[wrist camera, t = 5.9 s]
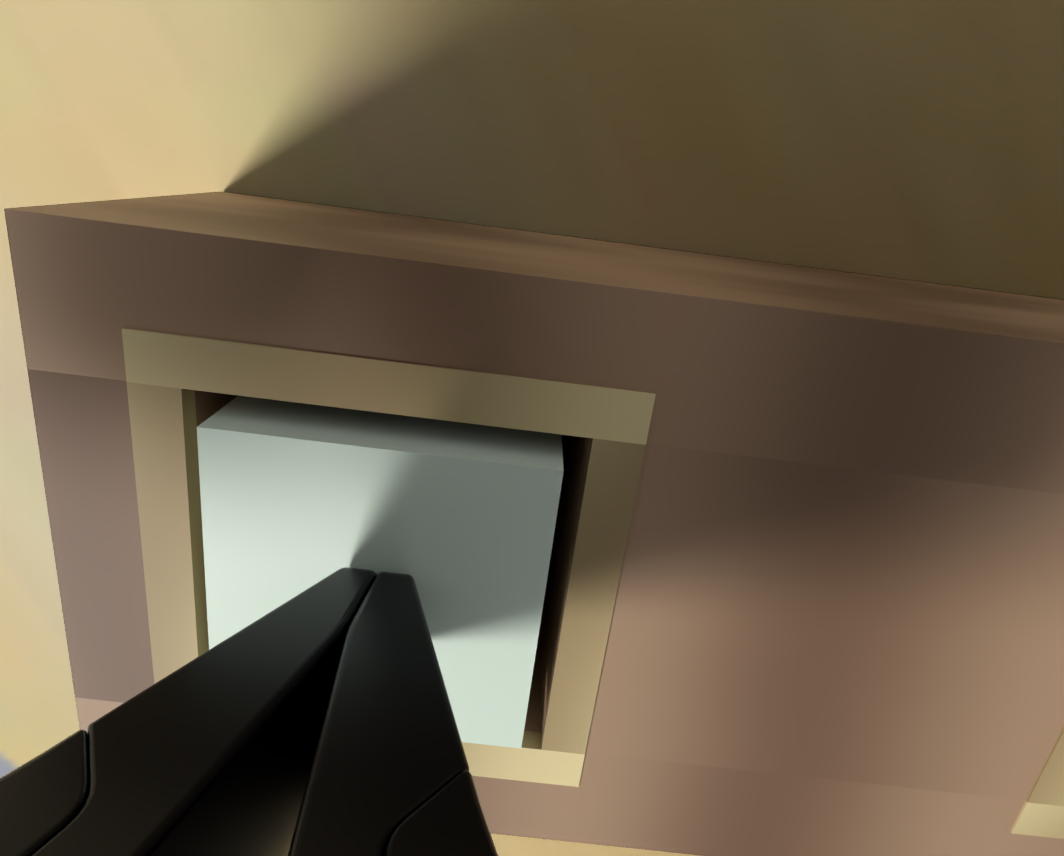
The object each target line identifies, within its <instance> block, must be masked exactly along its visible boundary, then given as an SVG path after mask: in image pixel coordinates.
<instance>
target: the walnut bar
mask: <svg viewBox="0 0 1064 856" xmlns="http://www.w3.org/2000/svg"><path fill="white" fill-rule="evenodd" d="M4 211H5V218H6V225H7V232H8V239H9V246H10V252H11V259H12V266H13V273H14V280H15V287H16V294H17V301H18V307H19V314H20V321H21V328H22V335H23V342H24V349H25V356H26V362H27V369H28V376H29V383H30V390H31V397H32V404H33V411H34V417H35V424H36V431H37V438H38V445H39V452H40V459H41V466H42V472H43V479H44V486H45V493H46V500H47V507H48V514H49V521H50V527H51V534H52V541H53V548H54V555H55V562H56V569H57V576H58V582H59V589H60V596H61V603H62V610H63V617H64V624H65V631H66V637H67V644H68V651H69V658H70V665H71V672H72V679H73V686H74V692H75V699H76V706H77V713H78V720H79V727H80V730H85V731H86V732H87V728H88V726H89V724H91V723H92V722H94V721H95V720H97V719H99V718H100V717H102V716H104V715H105V714H107V713H108V712H110V711H112V710H113V709H115V708H116V707H118V706H120V705H121V704H123V703H124V702H126V701H128V700H129V699H131V698H133V697H134V696H136V695H137V694H139V693H141V692H142V691H144V690H145V689H147V688H149V687H150V686H152V685H153V684H155V683H157V682H158V681H160V680H161V679H163V678H165V677H166V676H168V675H170V674H171V673H173V672H174V671H176V670H178V669H179V668H181V667H182V666H184V665H186V664H187V663H189V662H190V661H192V660H194V659H195V658H197V657H199V656H200V655H202V654H203V653H205V652H207V651H208V650H209V639H208V621H207V603H206V585H205V567H204V549H203V531H202V513H201V495H200V478H199V460H198V442H197V426H199V425H200V424H201V423H203V422H204V421H205V420H207V419H208V418H209V417H211V416H212V415H213V414H215V413H216V412H217V411H219V410H220V409H221V408H223V407H224V406H225V405H227V404H228V403H229V402H231V401H232V400H233V399H235V398H236V397H237V396H246V397H255V398H263V399H271V400H279V401H288V402H296V403H304V404H313V405H321V406H329V407H337V408H346V409H354V410H362V411H370V412H379V413H387V414H395V415H404V416H412V417H420V418H428V419H437V420H445V421H453V422H461V423H470V424H478V425H486V426H494V427H503V428H511V429H519V430H528V431H536V432H544V433H552V434H561V435H562V451H563V468H564V472H563V479H562V485H561V492H560V498H559V505H558V511H557V518H556V524H555V531H554V538H553V544H552V551H551V557H550V564H549V570H548V577H547V583H546V590H545V596H544V603H543V610H542V616H541V623H540V629H539V636H538V642H537V649H536V655H535V662H534V668H533V675H532V682H531V688H530V695H529V701H528V708H527V714H526V721H525V727H524V734H523V740H522V747H521V748H512V747H503V746H493V745H484V744H475V743H466V742H462V745H463V748H464V752H465V755H466V759H467V762H468V765H469V772H470V773H471V775H472V778H473V781H474V784H475V788H476V791H477V795H478V798H479V801H480V805H481V808H482V811H483V814H484V817H485V820H486V823H487V826H488V829H489V831H490V833H493V834H502V835H512V836H521V837H531V838H540V839H550V840H560V841H569V842H579V843H588V844H598V845H607V846H617V847H626V848H636V849H645V850H655V851H664V852H674V853H683V854H693V855H703V856H1064V300H1059V299H1051V298H1043V297H1035V296H1028V295H1020V294H1012V293H1004V292H996V291H989V290H981V289H973V288H965V287H958V286H950V285H942V284H934V283H927V282H919V281H911V280H903V279H896V278H888V277H880V276H872V275H864V274H857V273H849V272H841V271H833V270H826V269H818V268H810V267H802V266H795V265H787V264H779V263H771V262H764V261H756V260H748V259H740V258H732V257H725V256H717V255H709V254H701V253H694V252H686V251H678V250H670V249H663V248H655V247H647V246H639V245H632V244H624V243H616V242H608V241H600V240H593V239H585V238H577V237H569V236H562V235H554V234H546V233H538V232H531V231H523V230H515V229H507V228H500V227H492V226H484V225H476V224H468V223H461V222H453V221H445V220H437V219H430V218H422V217H414V216H406V215H399V214H391V213H383V212H375V211H367V210H360V209H352V208H344V207H336V206H329V205H321V204H313V203H305V202H298V201H290V200H282V199H274V198H267V197H259V196H251V195H243V194H235V193H228V192H210V193H198V194H185V195H172V196H160V197H147V198H134V199H121V200H109V201H96V202H83V203H70V204H58V205H45V206H32V207H20V208H7V209H4Z"/></svg>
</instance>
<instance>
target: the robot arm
mask: <svg viewBox="0 0 1064 856" xmlns="http://www.w3.org/2000/svg"><path fill="white" fill-rule="evenodd" d="M0 856H498V854H497V852H496V849H495V846H494V843H493V840H492V837H491V834H490V831H489V829H488V826H487V823H486V820H485V817H484V814H483V811H482V808H481V805H480V801H479V798H478V795H477V791H476V788H475V784H474V781H473V778H472V775H471V773H470V772H469V765H468V762H467V759H466V755H465V752H464V748H463V745H462V741H461V738H460V735H459V731H458V728H457V724H456V721H455V717H454V714H453V711H452V707H451V704H450V700H449V697H448V694H447V690H446V687H445V683H444V680H443V676H442V673H441V670H440V666H439V663H438V659H437V656H436V652H435V649H434V646H433V642H432V639H431V635H430V632H429V628H428V625H427V622H426V618H425V615H424V611H423V608H422V604H421V601H420V598H419V594H418V591H417V587H416V584H415V580H414V578H413V577H412V576H411V575H409V574H400V573H391V572H381V573H379V574H378V575H376V573H375V572H374V571H372V570H365V569H356V568H348V567H344V568H341V569H339V570H337V571H335V572H334V573H332V574H331V575H329V576H327V577H326V578H324V579H322V580H321V581H319V582H318V583H316V584H314V585H313V586H311V587H310V588H308V589H306V590H305V591H303V592H302V593H300V594H298V595H297V596H295V597H293V598H292V599H290V600H289V601H287V602H285V603H284V604H282V605H281V606H279V607H277V608H276V609H274V610H273V611H271V612H269V613H268V614H266V615H265V616H263V617H261V618H260V619H258V620H256V621H255V622H253V623H252V624H250V625H248V626H247V627H245V628H244V629H242V630H240V631H239V632H237V633H236V634H234V635H232V636H231V637H229V638H227V639H226V640H224V641H223V642H221V643H219V644H218V645H216V646H215V647H213V648H211V649H210V650H208V651H207V652H205V653H203V654H202V655H200V656H199V657H197V658H195V659H194V660H192V661H190V662H189V663H187V664H186V665H184V666H182V667H181V668H179V669H178V670H176V671H174V672H173V673H171V674H170V675H168V676H166V677H165V678H163V679H161V680H160V681H158V682H157V683H155V684H153V685H152V686H150V687H149V688H147V689H145V690H144V691H142V692H141V693H139V694H137V695H136V696H134V697H133V698H131V699H129V700H128V701H126V702H124V703H123V704H121V705H120V706H118V707H116V708H115V709H113V710H112V711H110V712H108V713H107V714H105V715H104V716H102V717H100V718H99V719H97V720H95V721H94V722H92V723H91V724H89V726H88V728H87V732H86V731H85V730H79V731H77V732H76V733H74V734H72V735H71V736H69V737H68V738H66V739H64V740H63V741H61V742H60V743H58V744H56V745H55V746H53V747H51V748H50V749H48V750H47V751H45V752H43V753H42V754H40V755H39V756H37V757H35V758H33V759H32V760H30V761H28V762H27V763H25V764H23V765H22V766H20V767H18V768H17V769H15V770H13V771H12V772H10V773H9V774H7V775H5V776H3V777H2V778H0Z"/></svg>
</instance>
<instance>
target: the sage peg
mask: <svg viewBox="0 0 1064 856" xmlns="http://www.w3.org/2000/svg"><path fill="white" fill-rule="evenodd" d="M197 442H198V460H199V478H200V495H201V513H202V531H203V549H204V567H205V585H206V603H207V621H208V639H209V650H210V649H211V648H213V647H215V646H216V645H218V644H219V643H221V642H223V641H224V640H226V639H227V638H229V637H231V636H232V635H234V634H236V633H237V632H239V631H240V630H242V629H244V628H245V627H247V626H248V625H250V624H252V623H253V622H255V621H256V620H258V619H260V618H261V617H263V616H265V615H266V614H268V613H269V612H271V611H273V610H274V609H276V608H277V607H279V606H281V605H282V604H284V603H285V602H287V601H289V600H290V599H292V598H293V597H295V596H297V595H298V594H300V593H302V592H303V591H305V590H306V589H308V588H310V587H311V586H313V585H314V584H316V583H318V582H319V581H321V580H322V579H324V578H326V577H327V576H329V575H331V574H332V573H334V572H335V571H337V570H339V569H341V568H344V567H348V568H356V569H365V570H372V571H374V572H375V573H376V575H378V574H379V573H381V572H391V573H400V574H409V575H411V576H412V577H413V578H414V580H415V584H416V587H417V591H418V594H419V598H420V601H421V604H422V608H423V611H424V615H425V618H426V622H427V625H428V628H429V632H430V635H431V639H432V642H433V646H434V649H435V652H436V656H437V659H438V663H439V666H440V670H441V673H442V676H443V680H444V683H445V687H446V690H447V694H448V697H449V700H450V704H451V707H452V711H453V714H454V717H455V721H456V724H457V728H458V731H459V735H460V738H461V741H462V742H466V743H475V744H484V745H493V746H503V747H512V748H521V747H522V740H523V734H524V727H525V721H526V714H527V708H528V701H529V695H530V688H531V682H532V675H533V668H534V662H535V655H536V649H537V642H538V636H539V629H540V623H541V616H542V610H543V603H544V596H545V590H546V583H547V577H548V570H549V564H550V557H551V551H552V544H553V538H554V531H555V524H556V518H557V511H558V505H559V498H560V492H561V485H562V479H563V472H564V468H563V451H562V435H561V434H552V433H544V432H536V431H528V430H519V429H511V428H503V427H494V426H486V425H478V424H470V423H461V422H453V421H445V420H437V419H428V418H420V417H412V416H404V415H395V414H387V413H379V412H370V411H362V410H354V409H346V408H337V407H329V406H321V405H313V404H304V403H296V402H288V401H279V400H271V399H263V398H255V397H246V396H237V397H236V398H235V399H233V400H232V401H231V402H229V403H228V404H227V405H225V406H224V407H223V408H221V409H220V410H219V411H217V412H216V413H215V414H213V415H212V416H211V417H209V418H208V419H207V420H205V421H204V422H203V423H201V424H200V425H199V426H197Z"/></svg>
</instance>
